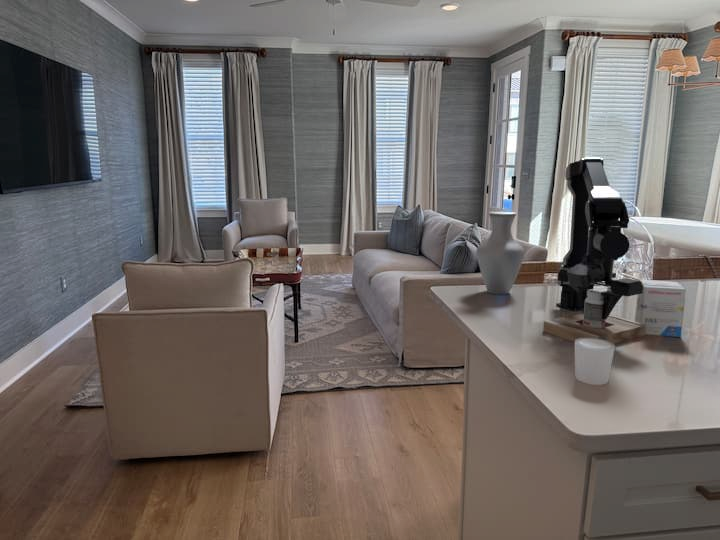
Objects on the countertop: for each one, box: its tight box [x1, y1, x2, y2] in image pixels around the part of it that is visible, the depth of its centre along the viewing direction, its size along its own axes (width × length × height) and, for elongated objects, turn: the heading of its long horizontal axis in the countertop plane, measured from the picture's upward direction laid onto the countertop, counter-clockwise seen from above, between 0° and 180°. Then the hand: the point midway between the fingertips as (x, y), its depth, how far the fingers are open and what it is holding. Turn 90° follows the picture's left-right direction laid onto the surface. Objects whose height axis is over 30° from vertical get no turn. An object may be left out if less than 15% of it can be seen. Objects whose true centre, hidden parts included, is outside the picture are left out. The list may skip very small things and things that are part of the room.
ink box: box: [634, 278, 687, 338], centre depth 122 cm, size 9×8×12 cm
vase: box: [476, 211, 526, 296], centre depth 158 cm, size 14×14×25 cm
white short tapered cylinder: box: [574, 338, 616, 386], centre depth 95 cm, size 7×7×7 cm
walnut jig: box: [542, 312, 646, 345], centre depth 121 cm, size 18×14×3 cm
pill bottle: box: [583, 288, 606, 328], centre depth 120 cm, size 5×5×8 cm
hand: (594, 316), depth 120 cm, fingers closed on pill bottle, 5 cm apart
